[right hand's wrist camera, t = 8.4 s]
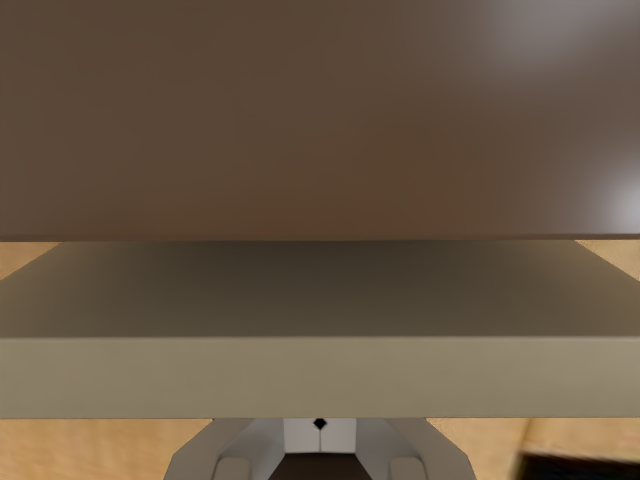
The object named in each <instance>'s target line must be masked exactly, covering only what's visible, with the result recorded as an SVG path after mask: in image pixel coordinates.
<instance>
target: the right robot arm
mask: <svg viewBox="0 0 640 480" xmlns="http://www.w3.org/2000/svg"><path fill="white" fill-rule="evenodd" d="M319 452H320V453H354V454H355V456H356V457H357V458H358V460H359V461H360V463H361V464H362V465H363V467H364V468H365V470H366V471H367V472H368V474H369V475H370V477H371V478H372V479H373V480H477V479H476V477H475V474H474V471H473V469H472V466H471V464H470V461H469V459H468V456H467V455H466V454H465V453H464V452H463V451H462V450H460V449H459V448H458V447H457V446H456V445H455V444H453V443H452V442H451V441H450V440H449V439H448V438H446V437H445V436H444V435H443V434H442V433H441V432H439V431H438V430H437V429H436V428H435V427H434V426H432V425H431V424H430V423H429V422H428V421H427V420H425V419H424V418H233V419H214V420H213V421H212V422H211V423H210V424H209V425H207V426H206V427H205V428H204V429H203V430H202V431H200V432H199V433H198V434H197V435H196V436H195V437H193V438H192V439H191V440H190V441H189V442H188V443H186V444H185V445H184V446H183V447H182V448H180V449H179V450H178V451H177V452H176V453H175V454H173V457H172V459H171V462H170V464H169V467H168V469H167V472H166V474H165V477H164V479H163V480H268V478H269V477H270V476H271V474H272V473H273V471H274V470H275V469H276V467H277V466H278V464H279V463H280V462H281V460H282V459H283V457H284V456H285V453H319Z"/></svg>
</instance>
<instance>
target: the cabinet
mask: <svg viewBox="0 0 640 480" xmlns="http://www.w3.org/2000/svg"><path fill="white" fill-rule="evenodd" d="M384 240H640V0H0V242H123V241H384Z"/></svg>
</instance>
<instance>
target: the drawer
mask: <svg viewBox="0 0 640 480" xmlns="http://www.w3.org/2000/svg"><path fill="white" fill-rule="evenodd" d="M608 417H640V281H638V280H636V279H635V278H633V277H632V276H630V275H628V274H627V273H625V272H624V271H622V270H620V269H619V268H617V267H616V266H614V265H612V264H611V263H609V262H608V261H606V260H605V259H603V258H601V257H600V256H598V255H597V254H595V253H593V252H592V251H590V250H589V249H587V248H585V247H584V246H582V245H581V244H579V243H577V242H576V241H574V240H384V241H123V242H62V243H60V244H59V245H57V246H55V247H54V248H52V249H51V250H49V251H47V252H46V253H44V254H43V255H41V256H39V257H38V258H36V259H35V260H33V261H31V262H30V263H28V264H26V265H25V266H23V267H22V268H20V269H18V270H17V271H15V272H14V273H12V274H10V275H9V276H7V277H6V278H4V279H2V280H1V281H0V419H213V420H214V419H233V418H424V419H425V420H426V418H608ZM268 480H373V479H372V478H371V477H370V475H369V474H368V472H367V471H366V470H365V468H364V467H363V465H362V464H361V463H360V461H359V460H358V458H357V457H356V456H355V454H354V453H320V452H319V453H285V456H284V457H283V459H282V460H281V462H280V463H279V464H278V466H277V467H276V469H275V470H274V471H273V473H272V474H271V476H270V477H269V478H268Z"/></svg>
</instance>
